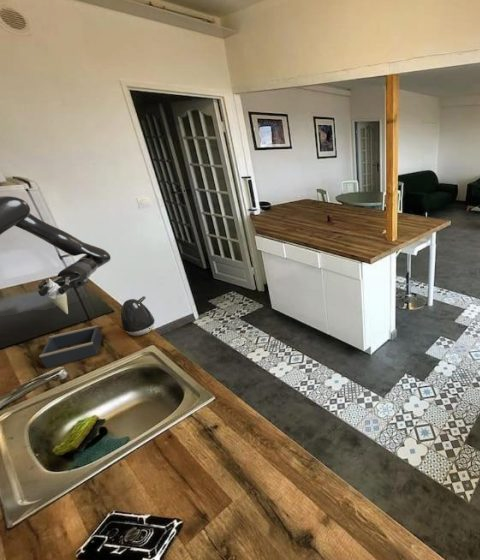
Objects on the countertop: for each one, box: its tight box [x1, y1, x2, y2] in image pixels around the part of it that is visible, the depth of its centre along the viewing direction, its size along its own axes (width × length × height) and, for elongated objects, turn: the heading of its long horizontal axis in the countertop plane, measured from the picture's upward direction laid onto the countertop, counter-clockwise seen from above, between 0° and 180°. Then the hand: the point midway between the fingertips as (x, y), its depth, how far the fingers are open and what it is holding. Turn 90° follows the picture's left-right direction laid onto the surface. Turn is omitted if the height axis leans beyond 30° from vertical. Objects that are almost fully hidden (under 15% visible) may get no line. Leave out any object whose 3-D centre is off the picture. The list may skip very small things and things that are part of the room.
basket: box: [38, 325, 103, 369], centre depth 115 cm, size 14×14×5 cm
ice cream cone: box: [46, 278, 69, 315], centre depth 115 cm, size 5×5×15 cm
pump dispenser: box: [120, 296, 156, 337], centre depth 124 cm, size 10×10×15 cm
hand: (50, 292), depth 111 cm, fingers closed on ice cream cone, 5 cm apart
